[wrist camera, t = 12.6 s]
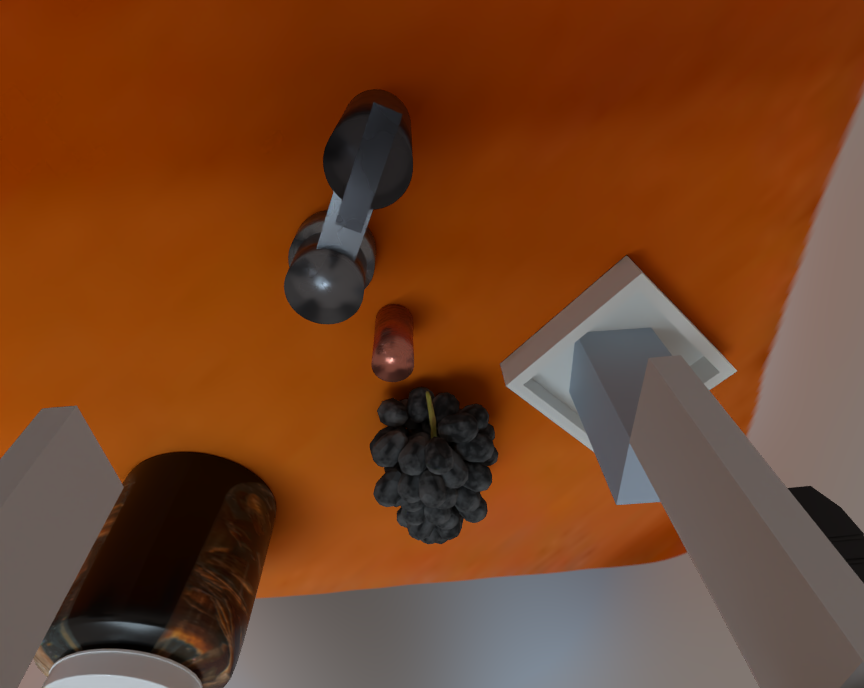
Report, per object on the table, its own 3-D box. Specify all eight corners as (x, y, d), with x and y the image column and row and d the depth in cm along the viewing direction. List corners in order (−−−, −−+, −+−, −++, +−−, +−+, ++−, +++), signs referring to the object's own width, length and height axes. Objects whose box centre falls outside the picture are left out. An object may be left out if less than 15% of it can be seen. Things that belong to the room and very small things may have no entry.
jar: (227, 432, 39) (142, 639, 26) (300, 526, 45) (259, 729, 32) (93, 473, 40) (-47, 686, 28) (181, 558, 47) (98, 762, 34)
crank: (354, 306, 31) (339, 398, 23) (287, 284, 30) (249, 373, 22) (433, 94, 24) (444, 132, 17) (351, 58, 24) (328, 82, 16)
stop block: (569, 391, 37) (616, 504, 29) (575, 332, 34) (630, 438, 26) (638, 386, 37) (706, 498, 29) (651, 327, 34) (729, 431, 26)
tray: (500, 363, 36) (505, 385, 34) (626, 255, 32) (641, 272, 30) (595, 437, 40) (605, 460, 38) (718, 349, 36) (737, 371, 34)
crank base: (276, 256, 31) (255, 296, 27) (326, 192, 29) (313, 225, 25) (396, 342, 35) (395, 388, 31) (448, 290, 33) (455, 333, 29)
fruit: (517, 504, 43) (500, 370, 34) (497, 604, 37) (469, 475, 28) (420, 488, 46) (379, 361, 37) (386, 578, 40) (327, 454, 31)
